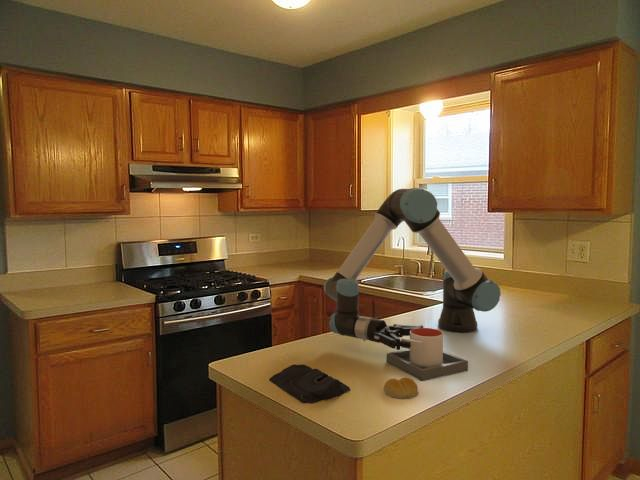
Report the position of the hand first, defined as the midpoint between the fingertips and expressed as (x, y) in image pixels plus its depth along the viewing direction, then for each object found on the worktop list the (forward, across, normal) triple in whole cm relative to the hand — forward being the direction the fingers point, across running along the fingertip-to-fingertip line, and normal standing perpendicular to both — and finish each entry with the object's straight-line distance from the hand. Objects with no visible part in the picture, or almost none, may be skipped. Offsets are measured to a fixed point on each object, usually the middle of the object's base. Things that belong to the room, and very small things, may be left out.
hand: (431, 341), depth 145 cm
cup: (-2, 0, -8) cm, 8 cm away
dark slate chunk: (-22, +33, -9) cm, 41 cm away
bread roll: (+2, +22, -9) cm, 24 cm away
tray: (-2, 0, -8) cm, 9 cm away
